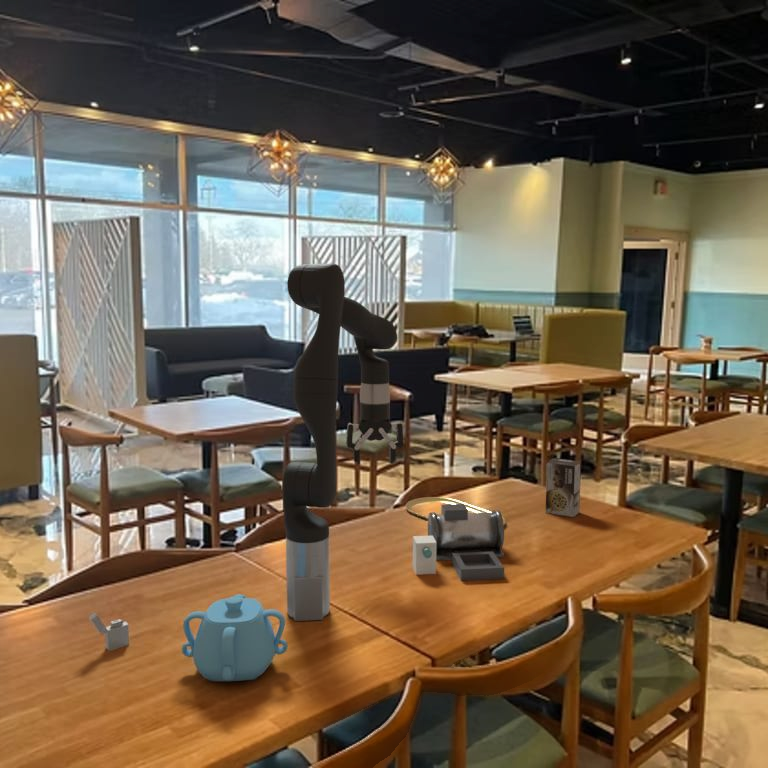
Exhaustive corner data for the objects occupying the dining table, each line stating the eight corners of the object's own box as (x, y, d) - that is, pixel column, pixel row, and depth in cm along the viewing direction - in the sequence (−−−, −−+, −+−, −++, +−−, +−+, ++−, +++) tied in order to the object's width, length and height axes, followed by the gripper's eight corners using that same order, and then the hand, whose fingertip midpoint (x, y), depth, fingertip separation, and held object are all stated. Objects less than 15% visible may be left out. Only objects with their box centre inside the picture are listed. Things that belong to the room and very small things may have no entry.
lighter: (126, 641, 151) (124, 603, 150) (129, 644, 150) (127, 606, 148) (90, 652, 146) (88, 613, 145) (93, 656, 145) (91, 617, 144)
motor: (504, 557, 196) (505, 512, 194) (434, 560, 194) (435, 515, 192) (492, 541, 208) (493, 498, 206) (426, 543, 206) (427, 501, 204)
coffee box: (580, 512, 233) (582, 461, 230) (573, 517, 227) (575, 465, 225) (551, 507, 238) (553, 457, 235) (544, 512, 232) (546, 461, 230)
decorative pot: (175, 666, 142) (172, 597, 140) (248, 638, 153) (247, 574, 150) (219, 702, 130) (216, 628, 128) (295, 669, 141) (294, 600, 138)
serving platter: (473, 540, 209) (473, 534, 209) (393, 509, 236) (393, 504, 236) (518, 526, 221) (518, 521, 221) (437, 498, 248) (437, 493, 248)
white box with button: (437, 577, 183) (438, 545, 182) (417, 578, 182) (417, 546, 181) (432, 565, 190) (432, 535, 189) (412, 566, 190) (413, 536, 188)
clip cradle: (503, 578, 182) (504, 567, 182) (460, 580, 181) (461, 569, 181) (489, 557, 196) (490, 547, 195) (449, 559, 194) (449, 549, 194)
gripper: (348, 403, 185) (348, 467, 187) (405, 402, 187) (404, 466, 189) (345, 398, 192) (345, 460, 194) (400, 397, 194) (399, 458, 196)
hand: (374, 463), depth 192 cm, fingers open, 8 cm apart
